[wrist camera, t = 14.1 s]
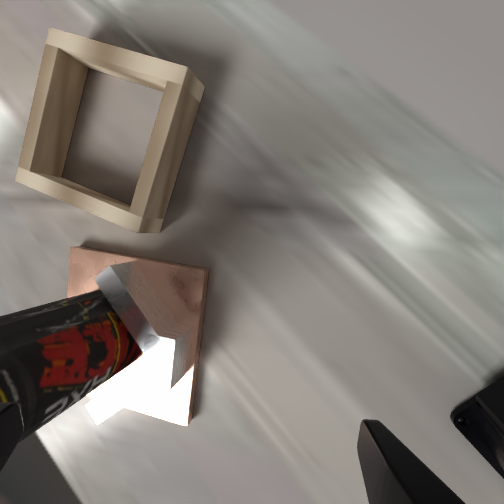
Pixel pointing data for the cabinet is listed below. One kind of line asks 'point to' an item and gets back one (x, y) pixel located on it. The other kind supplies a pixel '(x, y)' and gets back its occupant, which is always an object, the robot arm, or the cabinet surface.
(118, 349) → the deodorant
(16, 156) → the cabinet surface
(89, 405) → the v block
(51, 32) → the beige square frame
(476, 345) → the cabinet surface
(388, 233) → the cabinet surface
